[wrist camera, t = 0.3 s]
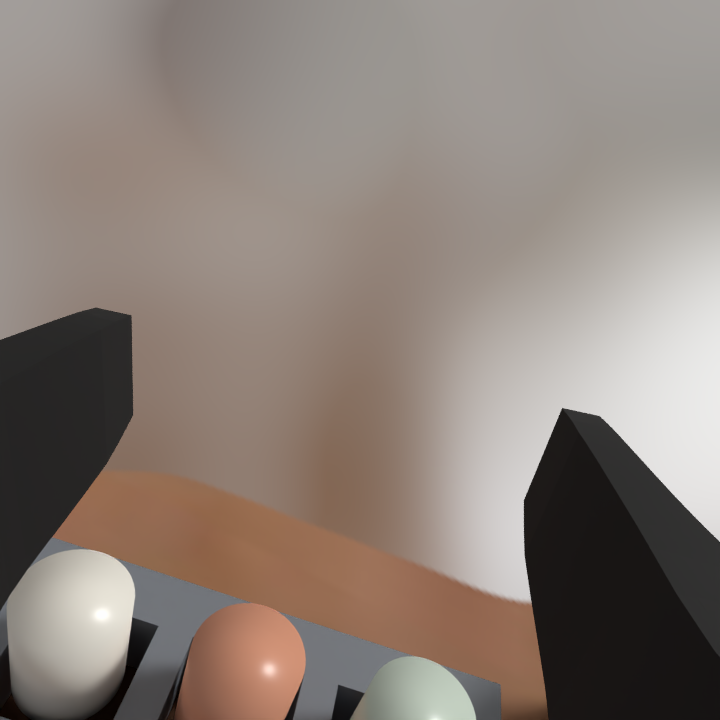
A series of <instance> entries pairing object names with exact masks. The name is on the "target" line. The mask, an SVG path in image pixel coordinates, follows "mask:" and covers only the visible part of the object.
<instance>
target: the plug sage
mask: <svg viewBox="0 0 720 720" xmlns="http://www.w3.org/2000/svg"><path fill="white" fill-rule="evenodd" d="M350 720H476V715H475V711H474V708H473V705H472V703H471V700H470V698H469V696H468V694H467V692H466V691H465V689H464V688H463V686H462V685H461V684H460V682H459V681H458V680H457V679H456V678H455V677H454V676H453V675H452V674H451V673H450V672H449V671H448V670H446V669H445V668H444V667H442V666H441V665H439V664H437V663H435V662H433V661H431V660H428V659H425V658H421V657H414V656H407V657H400V658H397V659H394V660H392V661H390V662H388V663H387V664H385V665H384V666H383V667H382V668H381V669H379V671H378V672H377V673H376V675H375V676H374V678H373V680H372V681H371V683H370V685H369V687H368V688H367V690H366V692H365V694H364V695H363V697H362V699H361V701H360V702H359V704H358V706H357V708H356V709H355V711H354V713H353V715H352V716H351V718H350Z"/></svg>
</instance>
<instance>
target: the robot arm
mask: <svg viewBox="0 0 720 720" xmlns="http://www.w3.org/2000/svg"><path fill="white" fill-rule="evenodd" d="M131 324H132V321H131V315H127V314H123V313H118V312H113V311H108V310H104V309H99V308H93V309H89V310H85V311H82V312H78V313H75V314H72V315H69V316H66V317H63V318H60V319H57V320H54V321H52V322H49V323H46V324H43V325H41V326H38V327H35V328H32V329H29V330H27V331H24V332H21V333H18V334H16V335H13V336H10V337H7V338H4V339H2V340H0V611H1V609H2V607H3V606H4V604H5V602H6V601H7V599H8V598H9V596H10V594H11V593H12V591H13V590H14V589H15V587H16V586H17V584H18V583H19V581H20V580H21V578H22V577H23V575H24V574H25V573H26V571H27V570H28V568H29V567H30V566H31V564H32V563H33V562H34V560H35V559H36V558H37V556H38V555H39V554H40V552H41V551H42V550H43V548H44V547H45V546H46V544H47V543H48V542H49V540H50V539H51V538H52V536H53V535H54V534H55V532H56V531H57V530H58V528H59V527H60V526H61V524H62V523H63V522H64V521H65V519H66V518H67V517H68V515H69V514H70V513H71V511H72V510H73V509H74V507H75V506H76V505H77V503H78V502H79V501H80V499H81V498H82V497H83V495H84V494H85V492H86V491H87V490H88V488H89V487H90V486H91V484H92V483H93V482H94V480H95V479H96V478H97V476H98V475H99V473H100V472H101V471H102V469H103V468H104V467H105V465H106V464H107V462H108V460H109V459H110V457H111V455H112V453H113V452H114V450H115V448H116V446H117V445H118V443H119V441H120V439H121V437H122V435H123V433H124V431H125V429H126V428H127V426H128V424H129V422H130V420H131V418H132V416H133V383H132V325H131ZM524 544H525V545H524V546H525V560H526V568H527V574H528V580H529V587H530V594H531V601H532V607H533V614H534V620H535V626H536V633H537V639H538V645H539V651H540V658H541V664H542V670H543V677H544V683H545V691H546V699H547V708H548V717H549V720H720V542H719V541H718V540H717V539H716V538H715V537H714V536H713V535H712V534H711V533H710V532H709V531H708V530H707V529H706V528H705V527H704V526H703V525H702V524H701V523H700V522H699V521H698V520H697V519H696V518H695V517H694V516H693V515H692V514H691V513H690V512H689V511H688V510H687V509H686V508H685V507H684V506H683V505H682V503H681V502H680V501H679V500H678V499H677V498H676V497H675V496H674V495H673V494H672V493H671V492H670V491H669V490H668V489H667V488H666V486H665V485H664V484H663V483H662V482H661V481H660V480H659V479H658V478H657V477H656V476H655V475H654V473H653V472H652V471H651V470H650V469H649V468H648V467H647V466H646V465H645V464H644V462H643V461H642V460H641V459H640V458H639V457H638V456H637V455H636V454H635V453H634V451H633V450H632V449H631V448H630V447H629V446H628V445H627V444H626V443H625V442H624V440H623V439H622V438H621V437H620V436H619V435H618V434H617V433H616V432H615V431H614V430H613V429H612V428H611V427H610V426H609V425H608V424H607V423H606V422H605V421H604V420H603V419H602V418H601V417H600V416H596V415H592V414H587V413H582V412H577V411H573V410H568V409H564V408H562V410H561V412H560V415H559V418H558V420H557V422H556V425H555V427H554V429H553V432H552V434H551V437H550V439H549V441H548V444H547V446H546V449H545V451H544V454H543V456H542V458H541V461H540V463H539V466H538V468H537V471H536V473H535V475H534V478H533V480H532V482H531V485H530V487H529V490H528V492H527V494H526V497H525V499H524Z"/></svg>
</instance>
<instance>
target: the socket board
mask: <svg viewBox="0 0 720 720" xmlns="http://www.w3.org/2000/svg"><path fill="white" fill-rule="evenodd" d="M77 549H86V548H83V547H80V546H77V545H74V544H71V543H68V542H65V541H62V540H58V539H55V538H51V539H50V540H49V542H48V543H47V544H46V546H45V547H44V548H43V550H42V551H41V552H40V554H39V555H38V556H37V558H36V559H35V560H34V562H33V563H32V564H31V566H32V565H34V564H35V563H37V562H38V561H40V560H42V559H44V558H46V557H48V556H50V555H53V554H55V553H59V552H63V551H68V550H77ZM86 550H89V549H86ZM115 559H116V558H115ZM116 560H118V561H119V562H120V563H121V564H122V565H124V566H125V568H126V569H127V570H128V572H129V573H130V575H131V577H132V580H133V583H134V587H135V601H134V608H133V615H132V623H131V630H130V637H129V645H128V652H127V659H126V665H128V666H131V667H134V668H137V669H138V670H137V672H136V674H135V676H134V678H133V680H132V682H131V684H130V686H129V688H128V690H127V693H126V695H125V697H124V699H123V701H122V703H121V705H120V707H119V709H118V711H117V713H116V715H115V717H114V719H113V720H167V718H168V715H169V713H170V710H171V708H172V706H173V703H174V701H175V698H176V696H177V694H178V691H179V689H180V686H181V684H182V681H183V676H184V672H185V668H186V664H187V660H188V655H189V651H190V647H191V644H192V641H193V638H194V636H195V634H196V632H197V630H198V629H199V627H200V626H201V624H202V623H203V622H204V621H205V620H206V619H207V618H208V617H209V616H211V615H212V614H213V613H215V612H216V611H218V610H220V609H222V608H224V607H227V606H230V605H234V604H241V603H250V602H247V601H244V600H241V599H238V598H235V597H232V596H229V595H226V594H223V593H220V592H217V591H214V590H211V589H208V588H205V587H202V586H199V585H196V584H193V583H190V582H186V581H183V580H180V579H177V578H174V577H171V576H168V575H165V574H162V573H159V572H156V571H153V570H150V569H147V568H144V567H141V566H138V565H135V564H132V563H129V562H126V561H122V560H119V559H116ZM31 566H30V567H31ZM30 567H29V568H30ZM7 601H8V599H7ZM7 601H6V602H5V604H4V606H3V607H2V609H1V611H0V710H1V709H2V707H3V705H4V704H5V702H6V701H7V699H8V698H9V696H10V694H11V693H12V691H11V679H10V662H9V646H8V629H7ZM253 604H254V603H253ZM277 612H278V611H277ZM279 613H280V614H282V615H283V616H285V617H286V618H287V619H288V620H289V621H290V622H291V623H292V624H293V626H294V627H295V628H296V630H297V631H298V633H299V635H300V637H301V639H302V642H303V645H304V649H305V657H306V665H305V672H304V676H303V679H302V682H301V684H300V686H299V688H298V691H297V693H296V695H295V697H294V699H293V702H292V704H291V706H290V708H289V711H288V713H287V715H286V717H285V720H350V718H351V716H352V715H353V713H354V711H355V709H356V708H357V706H358V704H359V702H360V701H361V699H362V697H363V695H364V694H365V692H366V690H367V688H368V687H369V685H370V683H371V681H372V680H373V678H374V676H375V675H376V673H377V672H378V671H379V669H381V668H382V667H383V666H384V665H385V664H387V663H388V662H390V661H392V660H394V659H397V658H400V657H407V656H412V655H409V654H406V653H403V652H400V651H397V650H394V649H391V648H388V647H385V646H382V645H379V644H375V643H372V642H369V641H366V640H363V639H360V638H357V637H354V636H351V635H348V634H345V633H342V632H339V631H336V630H333V629H330V628H327V627H324V626H321V625H318V624H314V623H311V622H308V621H305V620H302V619H299V618H296V617H293V616H290V615H287V614H284V613H281V612H279ZM414 657H415V656H414ZM441 666H442V667H444V668H445V669H446V670H448V671H449V672H450V673H451V674H452V675H453V676H454V677H455V678H456V679H457V680H458V681H459V682H460V684H461V685H462V686H463V688H464V689H465V691H466V692H467V694H468V696H469V698H470V700H471V703H472V705H473V708H474V711H475V715H476V720H501V687H500V684H497V683H494V682H491V681H488V680H485V679H482V678H479V677H476V676H473V675H470V674H467V673H464V672H461V671H458V670H455V669H452V668H449V667H446V666H443V665H441ZM0 720H10V719H7V718H4V717H0Z"/></svg>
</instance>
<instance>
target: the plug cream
mask: <svg viewBox="0 0 720 720" xmlns="http://www.w3.org/2000/svg"><path fill="white" fill-rule="evenodd" d="M134 601H135V587H134V583H133V580H132V577H131V575H130V573H129V572H128V570H127V569H126V568H125V566H124V565H122V564H121V563H120V562H119V561H118V560H116V559H115V558H113V557H111V556H110V555H107V554H105V553H102V552H98V551H94V550H86V549H77V550H68V551H63V552H59V553H55V554H53V555H50V556H48V557H46V558H44V559H42V560H40V561H38V562H37V563H35V564H34V565H32V566H31V567H30V568H28V570H27V571H26V573H25V574H24V575H23V577H22V578H21V580H20V581H19V583H18V584H17V586H16V587H15V589H14V590H13V591H12V593H11V594H10V596H9V598H8V601H7V629H8V646H9V662H10V679H11V691H12V696H13V698H14V701H15V703H16V705H17V707H18V708H19V709H20V710H21V712H22V713H23V714H25V715H26V716H27V717H28V718H30V719H32V720H85V719H87V718H89V717H91V716H93V715H94V714H96V713H97V712H99V711H100V710H101V709H103V708H104V707H105V706H106V705H107V704H108V703H109V702H110V701H111V700H112V698H113V697H114V696H115V694H116V693H117V691H118V689H119V688H120V685H121V683H122V681H123V677H124V674H125V667H126V659H127V652H128V645H129V637H130V630H131V623H132V615H133V608H134Z"/></svg>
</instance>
